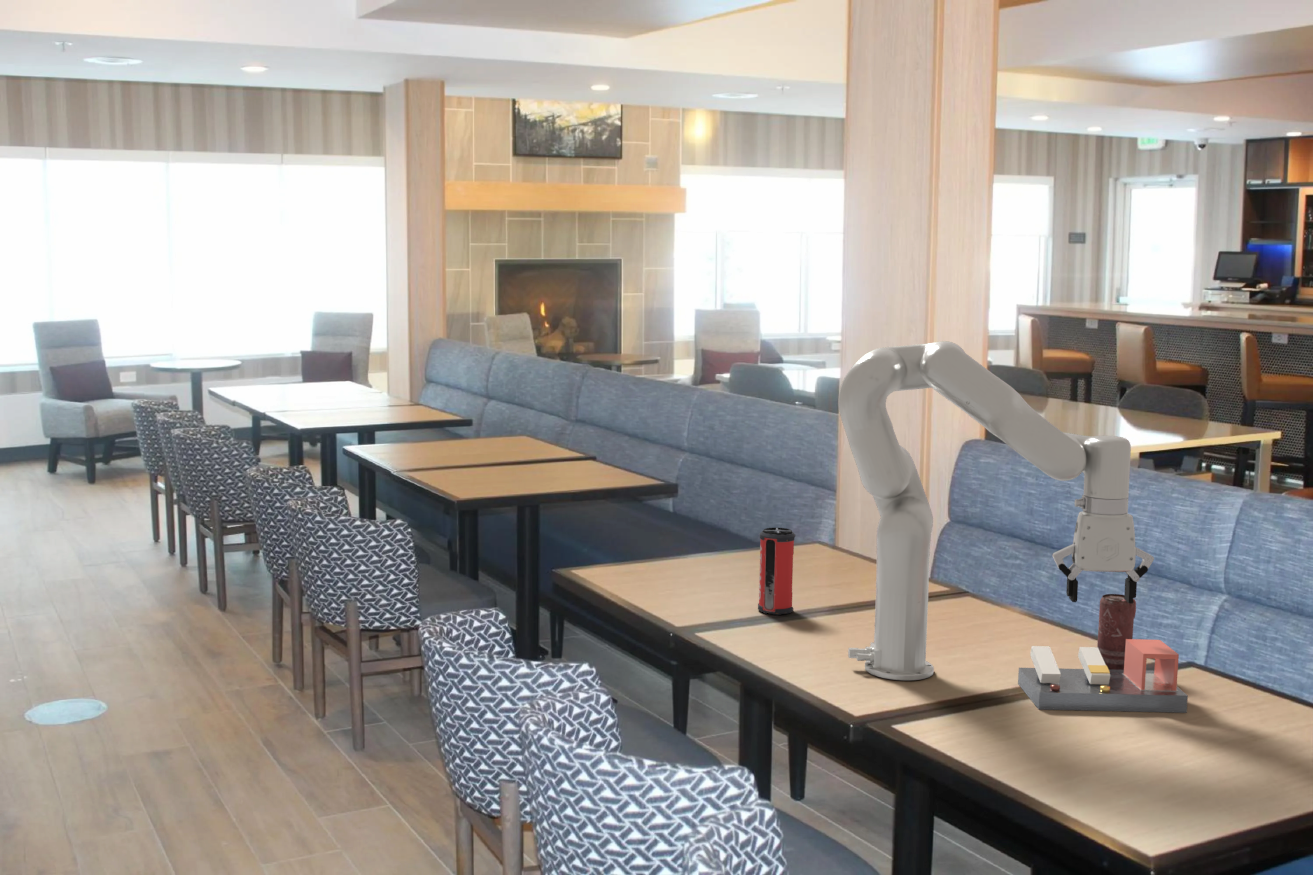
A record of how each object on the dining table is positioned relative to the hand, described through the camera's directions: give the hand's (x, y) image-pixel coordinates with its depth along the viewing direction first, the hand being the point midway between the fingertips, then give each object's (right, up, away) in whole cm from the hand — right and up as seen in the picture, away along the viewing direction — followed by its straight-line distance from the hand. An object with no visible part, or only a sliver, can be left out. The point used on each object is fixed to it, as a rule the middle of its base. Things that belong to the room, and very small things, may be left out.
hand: (1100, 601), depth 231 cm
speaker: (-53, -9, +52) cm, 75 cm away
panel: (-1, -17, -3) cm, 17 cm away
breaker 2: (-2, -11, -3) cm, 11 cm away
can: (+7, -15, +14) cm, 21 cm away
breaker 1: (-11, -11, -2) cm, 15 cm away
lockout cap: (+7, -14, -4) cm, 16 cm away
